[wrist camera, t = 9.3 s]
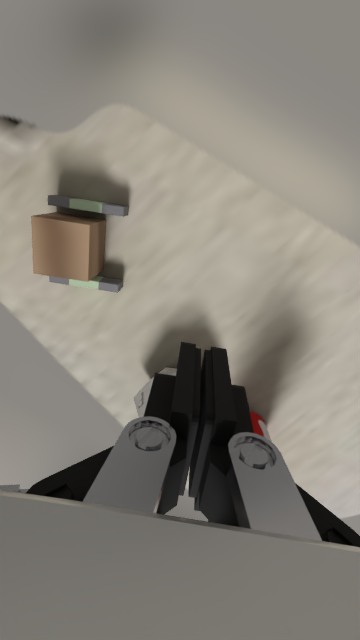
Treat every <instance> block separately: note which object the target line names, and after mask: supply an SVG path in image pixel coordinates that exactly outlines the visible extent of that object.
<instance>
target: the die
mask: <svg viewBox="0 0 360 640" xmlns="http://www.w3.org/2000/svg"><path fill="white" fill-rule="evenodd" d="M176 372H177V369H176V368H168V367H165V368H164V369H163V370H162V371H160V372H159V373H161V374H167V375H174V376H176ZM153 379H154V377H153V378H152V379H151V380H150V381H149V382H148V383H147V384H146V385H145V386H144V387H143V388H142V389H141V390H140V391H139V393H138V394H137V395H136V396H135V397H134V401H135V405H136V409H137V412H138V416H139V418H140V417H144V413H145V409H146V405H147V401H148V398H149V394H150V390H151V386H152V383H153Z"/></svg>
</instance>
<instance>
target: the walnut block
mask: <svg viewBox="0 0 360 640" xmlns="http://www.w3.org/2000/svg"><path fill="white" fill-rule="evenodd" d="M31 220H32V246H33V271H34V273H35V274H41V275H47V276H54V277H60V278H66V279H73V280H79V281H86V282H88V281H90V280H91V279H92V278H94V277H95V276H96V275H97V274H99V273H100V272H101V271H102V270H104V253H105V232H106V220H102V219H95V218H89V217H83V216H76V215H70V214H63V213H57V212H55V213H49V214H42V215H35V216H31Z"/></svg>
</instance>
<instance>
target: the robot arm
mask: <svg viewBox="0 0 360 640" xmlns="http://www.w3.org/2000/svg"><path fill="white" fill-rule="evenodd" d="M189 466H190V473H189V497H194V498H195V506H194V509H195V510H197V511H201V512H202V513H203V514H204V515H205V516H206V517H207V519H208V522H205V521H199V520H193V519H186V518H181V517H175V516H168V515H164V514H165V513H166V512H168V511H169V510H171V509H172V508H174V507H175V506H176V505H177V501H178V496H179V495H182V496H183V494H184V490H185V485H186V481H187V476H188V471H189ZM0 640H360V536H359V535H358V534H357V533H356V532H355V531H354V530H353V529H351V528H350V527H349V526H348V525H346V524H345V523H344V522H343V521H341V520H340V519H339V518H338V517H336V516H335V515H334V514H333V513H332V512H330V511H329V510H328V509H327V508H325V507H324V506H323V505H322V504H320V503H319V502H318V501H317V500H315V499H314V498H313V497H312V496H310V495H309V494H308V493H307V492H306V491H304V490H303V489H302V488H301V487H299V486H298V485H297V484H296V483H295V482H294V480H293V478H292V476H291V474H290V472H289V470H288V467H287V465H286V463H285V461H284V459H283V457H282V455H281V453H280V451H279V450H278V448H277V447H276V446H275V445H274V444H273V443H272V442H271V441H270V440H268V439H266V438H265V437H263V436H261V435H258V434H255V433H254V430H253V425H252V420H251V416H250V411H249V406H248V402H247V397H246V392H245V388H244V387H242V386H236V385H231V378H230V372H229V365H228V358H227V351H226V349H222V348H216V347H211V349H210V350H205V352H204V357H203V362H202V367H201V349H198V348H196V344H191V343H184V342H181V347H180V354H179V360H178V366H177V372H176V376H174V375H167V374H161V373H155V375H154V379H153V383H152V386H151V390H150V394H149V398H148V401H147V405H146V409H145V413H144V417H140V418H136V419H134V420H132V421H131V422H129V423H128V424H127V425H126V426H125V428H124V429H123V431H122V433H121V435H120V436H119V438H118V440H117V442H116V443H115V445H114V446H112V447H110V448H108V449H106V450H104V451H102V452H100V453H98V454H96V455H94V456H91V457H89V458H87V459H85V460H83V461H81V462H79V463H77V464H74V465H72V466H71V467H68V468H66V469H64V470H62V471H60V472H57V473H55V474H53V475H51V476H49V477H47V478H45V479H43V480H41V481H39V482H38V483H36V484H34V485H33V486H32V487H31V488H30V489H20V485H2V486H0Z"/></svg>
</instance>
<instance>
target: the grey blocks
mask: <svg viewBox="0 0 360 640" xmlns="http://www.w3.org/2000/svg"><path fill="white" fill-rule="evenodd" d="M48 205H53V206H59V207H66V208H72V209H79V210H85V211H92V212H98V213H104V214H111V215H117V216H126V215H128V207H129V206H123V205H117V204H111V203H104V202H98V201H91V200H85V199H78V198H72V197H66V196H59V195H48ZM49 280H50V282H54V283H60V284H66V285H73V286H79V287H85V288H92V289H98V290H105V291H111V292H117V293H118V292H119V291H120V289H121V288H122V287H123V280H121V279H115V278H108V277H102V276H95V277H94V278H92V279H91V280H90V281H88V282H86V281H79V280H73V279H66V278H60V277H54V276H49Z"/></svg>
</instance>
